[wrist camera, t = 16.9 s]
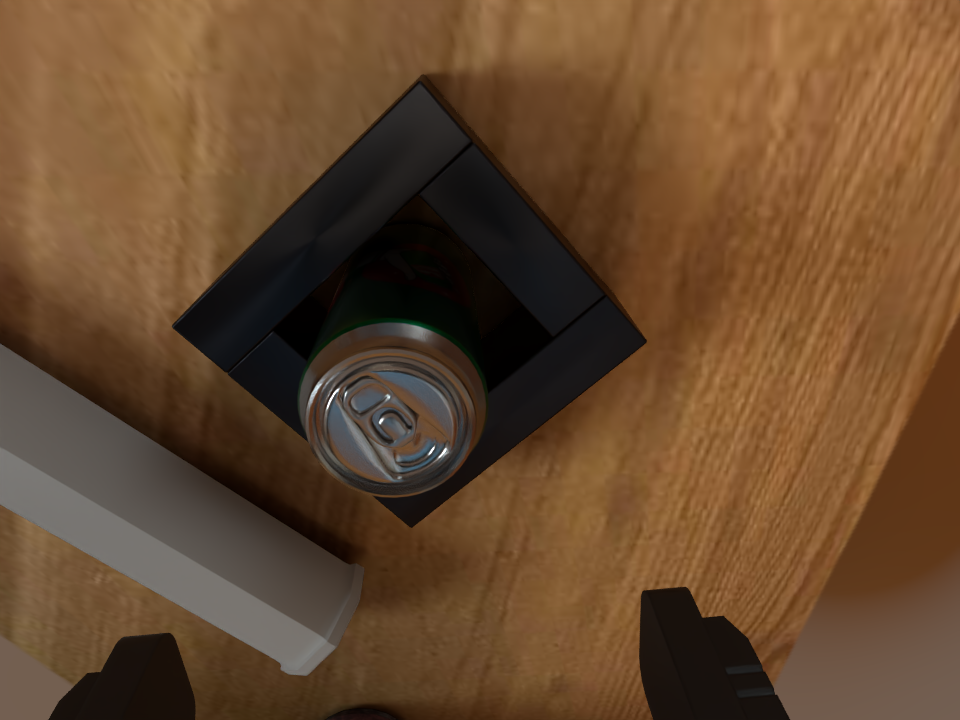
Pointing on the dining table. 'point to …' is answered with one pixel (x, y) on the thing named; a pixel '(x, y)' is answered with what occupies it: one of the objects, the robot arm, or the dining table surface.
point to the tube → (167, 522)
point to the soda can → (397, 367)
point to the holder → (481, 227)
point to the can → (361, 715)
